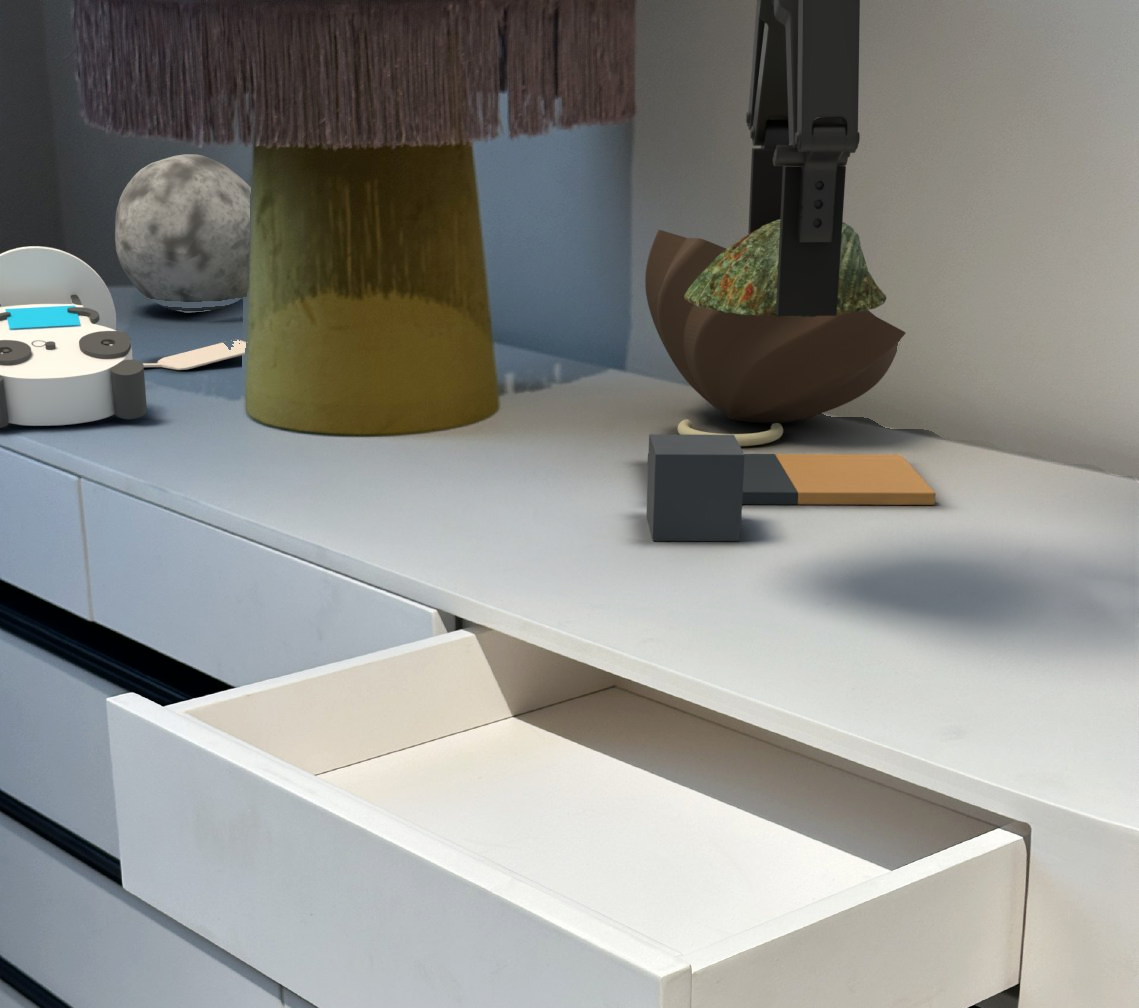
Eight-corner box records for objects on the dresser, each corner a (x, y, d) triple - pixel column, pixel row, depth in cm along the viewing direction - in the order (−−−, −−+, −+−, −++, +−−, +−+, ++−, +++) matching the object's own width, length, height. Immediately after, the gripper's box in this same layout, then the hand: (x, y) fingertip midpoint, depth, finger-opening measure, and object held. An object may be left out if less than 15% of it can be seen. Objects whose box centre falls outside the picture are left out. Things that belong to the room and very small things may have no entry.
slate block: (729, 517, 100) (734, 434, 98) (740, 541, 96) (744, 454, 94) (646, 517, 100) (649, 434, 98) (652, 540, 96) (655, 454, 94)
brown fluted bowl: (961, 357, 119) (901, 489, 121) (800, 314, 135) (750, 431, 137) (759, 251, 108) (697, 398, 110) (610, 217, 124) (559, 346, 126)
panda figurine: (118, 243, 128) (142, 323, 117) (129, 381, 135) (153, 469, 124) (-48, 248, 125) (-39, 332, 114) (-28, 390, 132) (-18, 481, 121)
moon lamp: (175, 138, 153) (249, 120, 166) (51, 208, 160) (131, 187, 173) (252, 291, 157) (319, 263, 170) (128, 354, 164) (201, 322, 177)
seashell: (652, 210, 81) (780, 197, 87) (645, 297, 83) (771, 277, 89) (819, 246, 75) (943, 229, 81) (808, 339, 77) (930, 314, 83)
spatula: (264, 365, 143) (263, 347, 143) (-98, 394, 129) (-101, 374, 128) (237, 356, 148) (236, 338, 147) (-114, 383, 134) (-117, 364, 133)
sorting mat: (900, 465, 113) (901, 454, 112) (934, 505, 104) (935, 492, 103) (647, 464, 112) (647, 452, 112) (659, 504, 103) (659, 491, 103)
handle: (780, 449, 116) (783, 433, 121) (780, 437, 116) (784, 421, 121) (672, 445, 118) (679, 429, 122) (672, 433, 117) (679, 417, 122)
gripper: (703, -197, 84) (689, 266, 93) (766, -266, 63) (741, 337, 72) (853, -197, 84) (825, 265, 93) (964, -265, 63) (915, 336, 72)
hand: (788, 296), depth 83 cm, fingers closed on seashell, 10 cm apart
